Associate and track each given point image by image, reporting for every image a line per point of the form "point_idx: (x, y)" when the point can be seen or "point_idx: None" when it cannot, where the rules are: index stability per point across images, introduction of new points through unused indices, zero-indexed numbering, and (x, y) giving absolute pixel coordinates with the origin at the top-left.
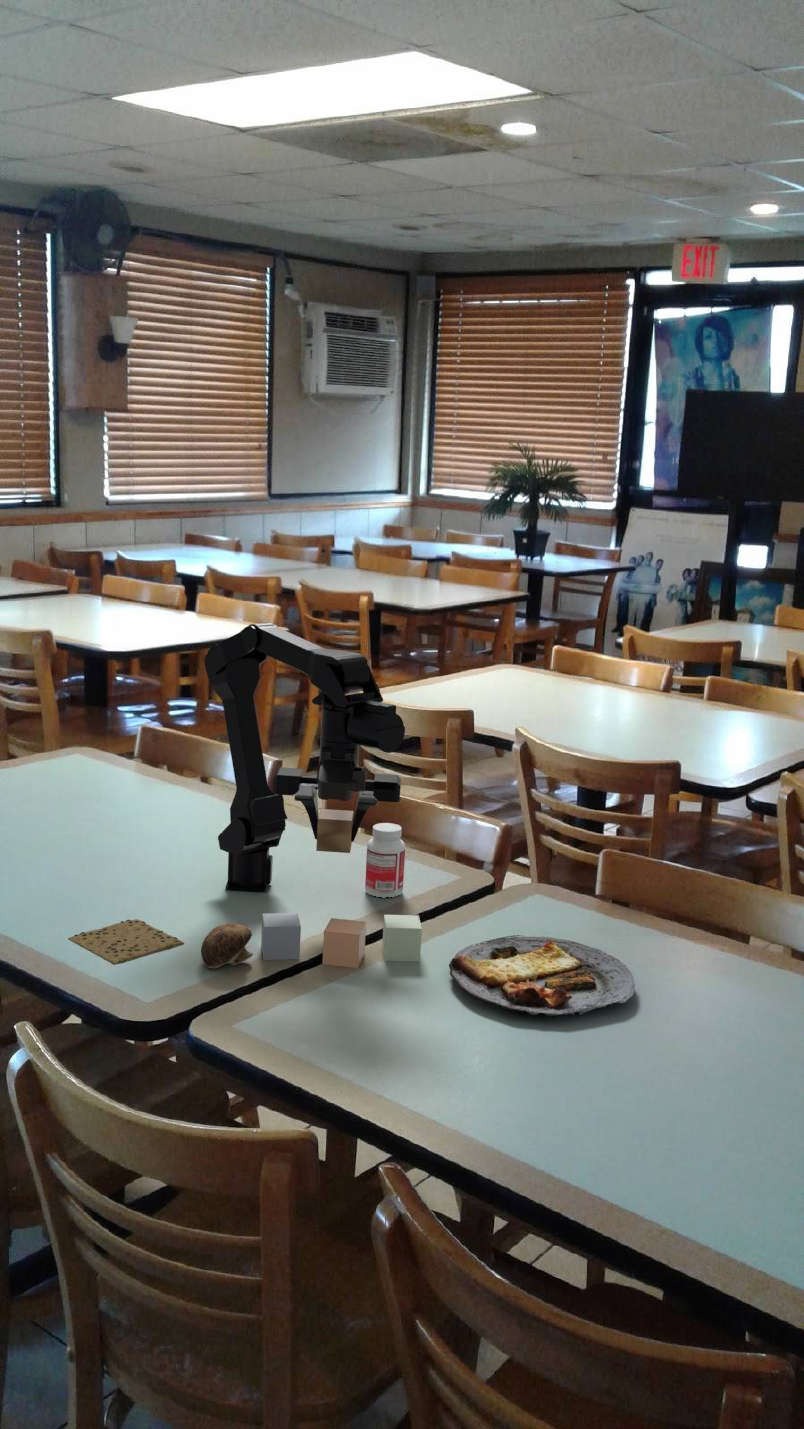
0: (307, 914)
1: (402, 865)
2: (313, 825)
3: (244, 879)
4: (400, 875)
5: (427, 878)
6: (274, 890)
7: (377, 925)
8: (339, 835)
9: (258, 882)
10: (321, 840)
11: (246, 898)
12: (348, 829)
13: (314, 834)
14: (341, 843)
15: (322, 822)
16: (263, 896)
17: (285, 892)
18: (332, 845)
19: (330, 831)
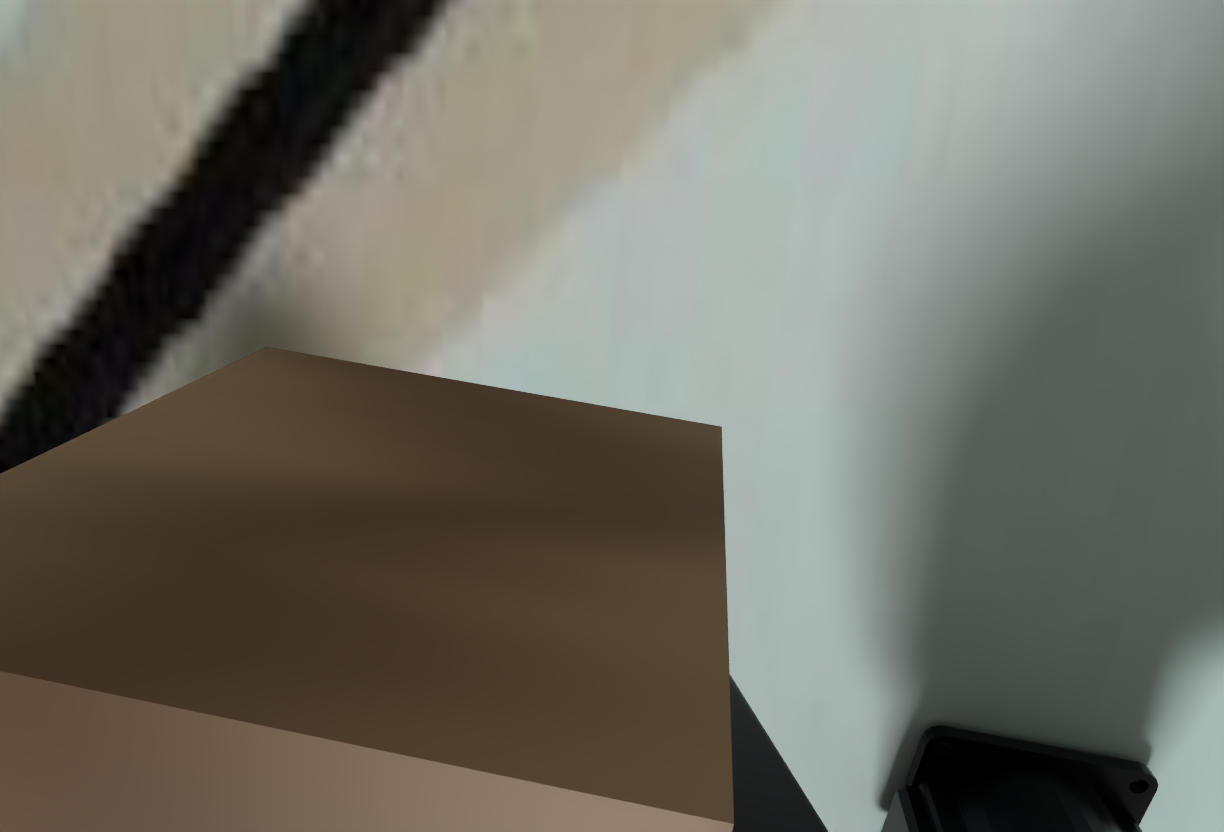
0: (730, 412)
1: None
2: (782, 820)
3: (1069, 802)
4: None
5: None
6: (870, 743)
7: (332, 238)
8: (293, 471)
9: (972, 789)
10: (642, 480)
11: (1051, 651)
12: (28, 502)
13: (740, 703)
14: (324, 414)
15: (596, 702)
16: (946, 672)
17: (814, 715)
18: (475, 416)
19: (444, 539)
